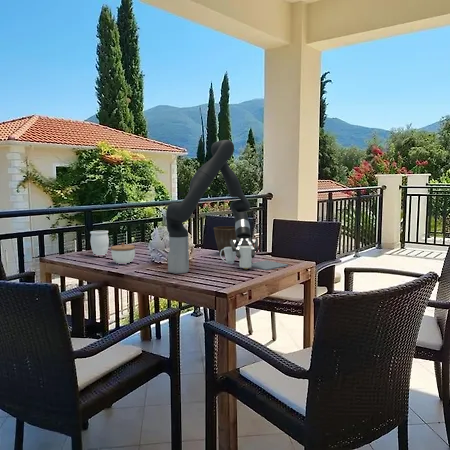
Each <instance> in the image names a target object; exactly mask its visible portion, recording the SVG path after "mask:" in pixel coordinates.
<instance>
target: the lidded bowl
mask: <svg viewBox="0 0 450 450" xmlns="http://www.w3.org/2000/svg"><path fill="white" fill-rule="evenodd" d="M110 251H111V252H110V253H111V258H112V260H113V262H114V263H116V264H117V263H130V262H131V263H132V261H133V260H134V258H135V255H136V246H135V244H125V242H122V243H121V244H119V245H112V246H111V247H110ZM131 263H130V264H131Z"/></svg>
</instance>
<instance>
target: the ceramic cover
mask: <svg viewBox="0 0 450 450" xmlns="http://www.w3.org/2000/svg"><path fill="white" fill-rule="evenodd" d="M239 252H240V259H238V261H239V268H243V269H244V268H248V269H249V268H252V267H251V266H252V263H253V262H252V261H253V260H252V259H253V258H252V248H251V246H240V248H239Z"/></svg>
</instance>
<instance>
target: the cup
mask: <svg viewBox="0 0 450 450" xmlns="http://www.w3.org/2000/svg"><path fill="white" fill-rule="evenodd" d="M235 248H237V247H236V246H235ZM222 250H224V253H225V255H224V257H225V259H224V258H223V255H221V252H222ZM222 250H221V251H220V253H219V256H220V258H221V260H222V261H224V262H225V263H226V264H235V260H236V258H237V255H236V252H235V251H234V252H233V251H232V247H225V248H224V249H222Z"/></svg>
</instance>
